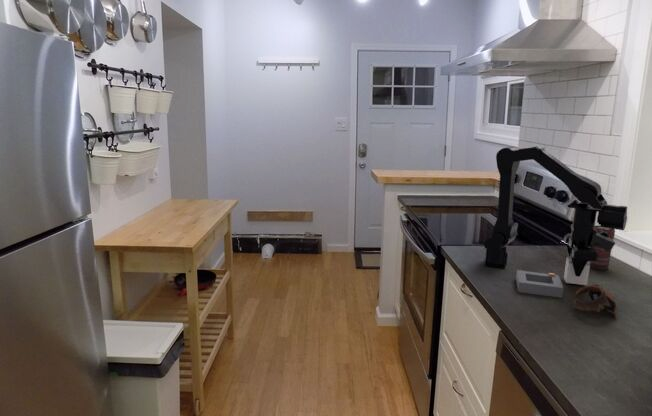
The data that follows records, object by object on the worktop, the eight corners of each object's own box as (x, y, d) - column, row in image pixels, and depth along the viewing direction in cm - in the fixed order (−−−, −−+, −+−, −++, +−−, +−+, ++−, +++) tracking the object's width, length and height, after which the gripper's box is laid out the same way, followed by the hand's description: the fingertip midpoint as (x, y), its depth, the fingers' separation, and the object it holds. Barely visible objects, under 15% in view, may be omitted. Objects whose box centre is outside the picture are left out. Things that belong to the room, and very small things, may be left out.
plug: (566, 282, 138) (569, 260, 136) (563, 277, 142) (566, 256, 140) (586, 285, 136) (590, 263, 134) (584, 280, 140) (587, 258, 138)
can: (612, 271, 150) (618, 230, 146) (590, 269, 151) (597, 229, 148) (604, 265, 155) (611, 225, 152) (584, 263, 157) (590, 224, 154)
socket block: (518, 291, 132) (519, 280, 131) (516, 279, 142) (517, 268, 141) (562, 297, 128) (563, 286, 128) (557, 284, 138) (558, 273, 137)
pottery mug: (622, 326, 114) (611, 300, 112) (581, 332, 119) (569, 307, 117) (616, 297, 123) (605, 272, 121) (579, 304, 128) (568, 280, 127)
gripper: (623, 235, 123) (614, 288, 127) (607, 219, 141) (599, 266, 144) (577, 230, 127) (569, 283, 131) (567, 215, 144) (560, 262, 148)
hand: (576, 273), depth 138 cm, fingers closed on plug, 4 cm apart
